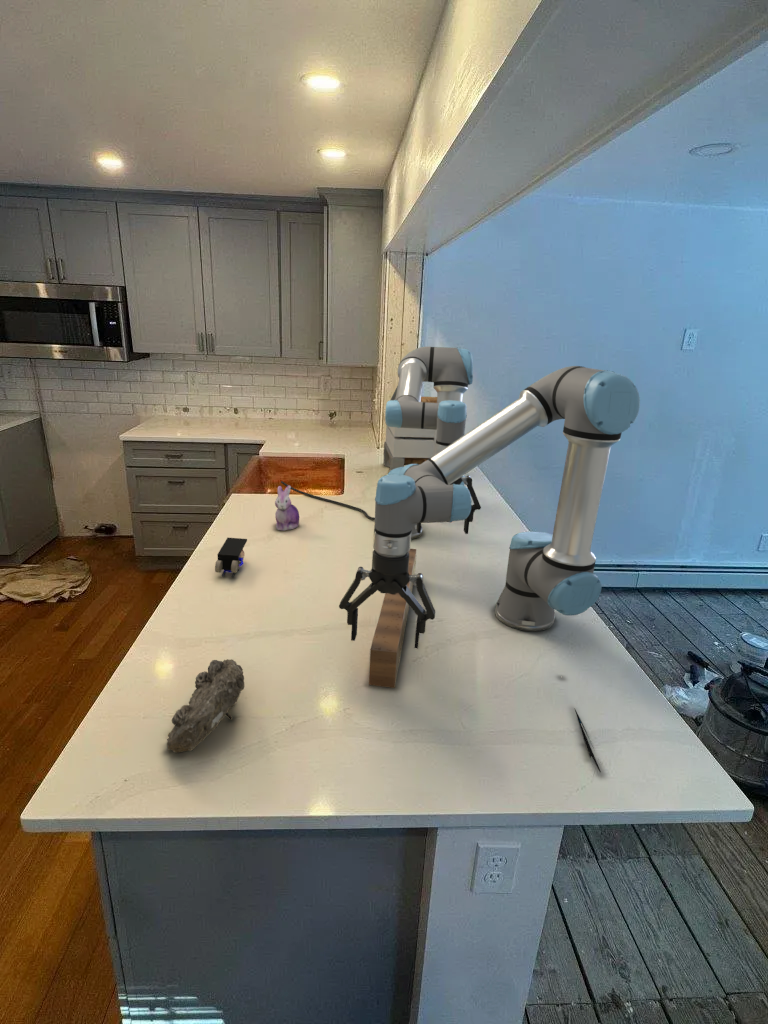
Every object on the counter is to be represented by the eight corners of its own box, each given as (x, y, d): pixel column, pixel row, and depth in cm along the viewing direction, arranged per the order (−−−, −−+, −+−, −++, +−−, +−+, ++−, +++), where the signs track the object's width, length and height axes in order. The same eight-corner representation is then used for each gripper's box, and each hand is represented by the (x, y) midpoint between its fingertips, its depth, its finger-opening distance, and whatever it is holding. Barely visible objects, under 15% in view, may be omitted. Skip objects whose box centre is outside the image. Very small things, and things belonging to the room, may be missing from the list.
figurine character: (238, 584, 162) (249, 557, 175) (236, 562, 158) (247, 536, 172) (215, 584, 161) (227, 556, 175) (212, 561, 158) (225, 535, 171)
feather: (561, 682, 125) (567, 675, 124) (600, 777, 98) (608, 769, 98) (555, 678, 125) (561, 671, 124) (592, 772, 98) (600, 765, 98)
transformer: (382, 463, 289) (386, 382, 275) (445, 464, 293) (451, 384, 279) (390, 482, 257) (394, 392, 243) (460, 483, 261) (468, 394, 247)
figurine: (278, 533, 195) (277, 491, 190) (270, 523, 204) (269, 483, 199) (304, 529, 199) (304, 488, 194) (295, 519, 208) (294, 480, 203)
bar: (396, 573, 170) (397, 547, 167) (414, 575, 169) (416, 548, 166) (368, 685, 119) (370, 649, 116) (394, 688, 119) (396, 652, 116)
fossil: (192, 660, 117) (244, 628, 112) (224, 691, 120) (276, 661, 115) (142, 746, 98) (202, 712, 93) (182, 779, 101) (242, 748, 96)
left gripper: (404, 461, 149) (399, 536, 156) (496, 463, 151) (488, 537, 158) (401, 454, 156) (397, 526, 163) (489, 456, 158) (482, 527, 165)
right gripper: (327, 551, 113) (324, 643, 120) (452, 565, 110) (442, 658, 117) (334, 537, 120) (332, 625, 127) (453, 550, 117) (443, 638, 124)
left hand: (442, 532), depth 161 cm, fingers open, 13 cm apart
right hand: (385, 641), depth 122 cm, fingers open, 13 cm apart
